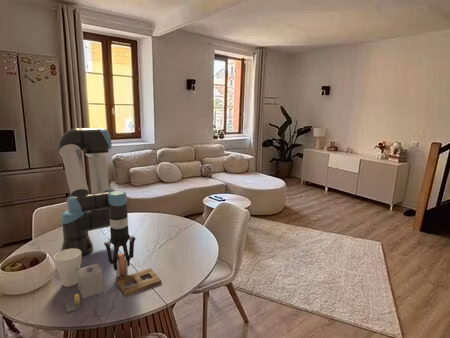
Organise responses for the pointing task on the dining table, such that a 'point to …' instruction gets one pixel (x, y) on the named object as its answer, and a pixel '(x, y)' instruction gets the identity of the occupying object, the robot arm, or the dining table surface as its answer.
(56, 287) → the dining table surface
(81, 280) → the block
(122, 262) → the peg
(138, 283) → the board
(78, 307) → the pad
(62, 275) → the cup
